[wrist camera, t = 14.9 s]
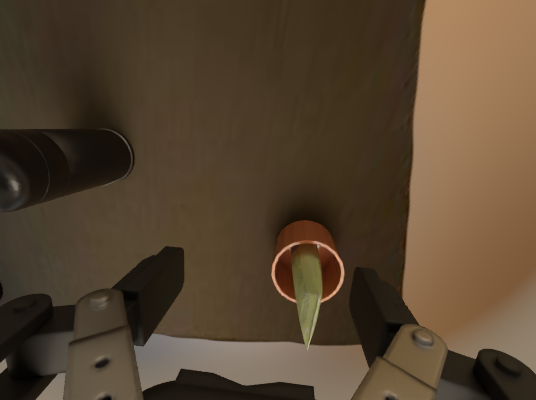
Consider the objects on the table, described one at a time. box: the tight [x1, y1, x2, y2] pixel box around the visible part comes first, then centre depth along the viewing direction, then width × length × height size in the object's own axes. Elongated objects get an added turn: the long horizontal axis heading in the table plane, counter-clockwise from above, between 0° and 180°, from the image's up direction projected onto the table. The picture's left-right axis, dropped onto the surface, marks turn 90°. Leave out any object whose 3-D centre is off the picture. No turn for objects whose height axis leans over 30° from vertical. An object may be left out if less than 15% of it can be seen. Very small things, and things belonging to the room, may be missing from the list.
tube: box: [291, 243, 322, 351], centre depth 39 cm, size 6×5×20 cm
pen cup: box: [271, 220, 345, 303], centre depth 45 cm, size 11×11×9 cm
